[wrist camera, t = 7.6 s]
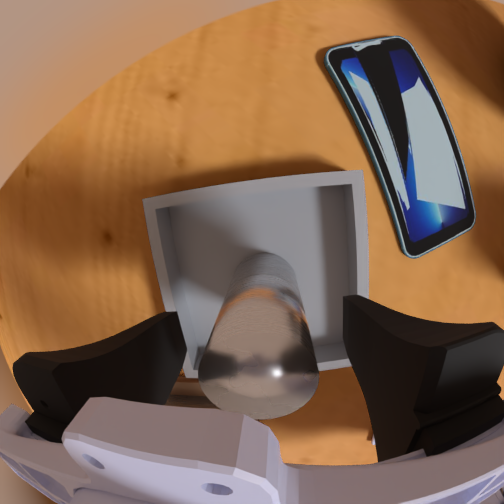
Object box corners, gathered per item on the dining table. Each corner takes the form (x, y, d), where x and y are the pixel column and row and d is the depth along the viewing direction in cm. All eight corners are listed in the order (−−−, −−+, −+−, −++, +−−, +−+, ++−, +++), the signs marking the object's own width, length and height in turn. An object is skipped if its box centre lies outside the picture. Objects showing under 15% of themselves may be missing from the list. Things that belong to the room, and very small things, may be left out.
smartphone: (406, 263, 16) (318, 50, 13) (400, 259, 17) (316, 56, 14) (478, 225, 15) (406, 34, 12) (471, 222, 16) (401, 39, 13)
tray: (349, 171, 15) (362, 169, 13) (355, 343, 18) (364, 363, 16) (160, 196, 17) (142, 199, 14) (195, 356, 19) (185, 377, 17)
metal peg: (298, 253, 16) (326, 332, 8) (295, 313, 17) (311, 418, 9) (231, 252, 16) (191, 329, 8) (233, 311, 18) (204, 415, 9)
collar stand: (250, 375, 19) (248, 395, 17) (264, 446, 22) (263, 463, 20) (137, 373, 21) (126, 389, 18) (170, 441, 23) (164, 456, 21)
